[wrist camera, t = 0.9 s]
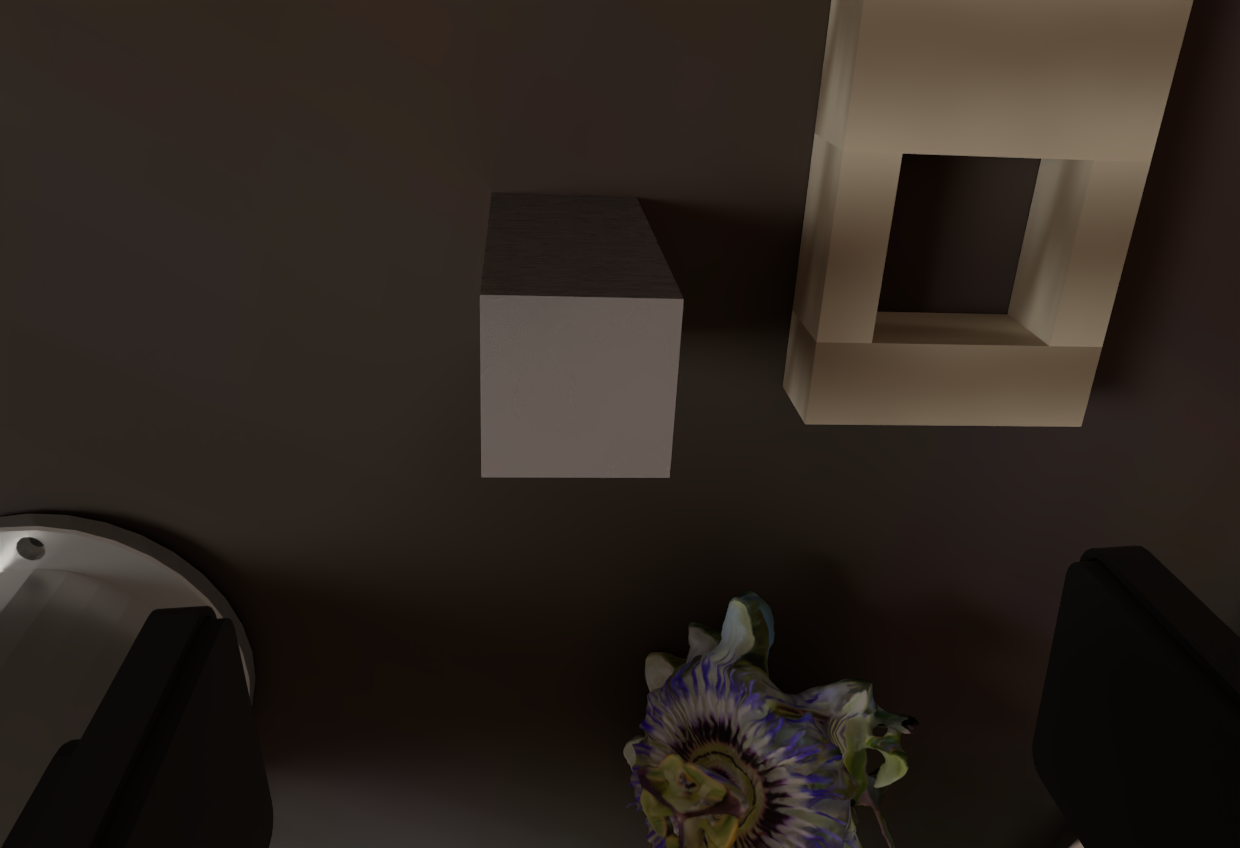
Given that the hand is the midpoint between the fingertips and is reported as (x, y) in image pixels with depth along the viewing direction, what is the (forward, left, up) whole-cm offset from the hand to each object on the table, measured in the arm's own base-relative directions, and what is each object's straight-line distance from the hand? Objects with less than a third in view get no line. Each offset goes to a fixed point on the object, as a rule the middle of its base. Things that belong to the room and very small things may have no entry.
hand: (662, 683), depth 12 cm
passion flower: (-19, -8, -22) cm, 30 cm away
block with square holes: (+5, -12, -22) cm, 26 cm away
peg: (-2, 0, -22) cm, 22 cm away
